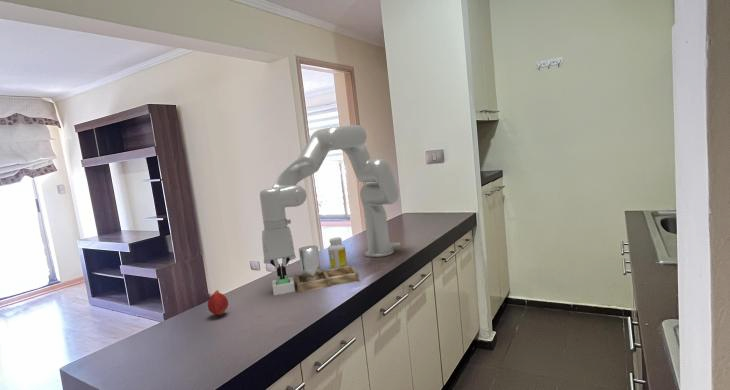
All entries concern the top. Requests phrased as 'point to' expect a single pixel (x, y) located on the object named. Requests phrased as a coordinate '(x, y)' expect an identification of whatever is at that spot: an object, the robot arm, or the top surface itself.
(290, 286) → the button console
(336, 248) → the supplement bottle
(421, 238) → the top surface
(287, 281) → the button
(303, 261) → the drinking glass
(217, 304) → the onion
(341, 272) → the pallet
